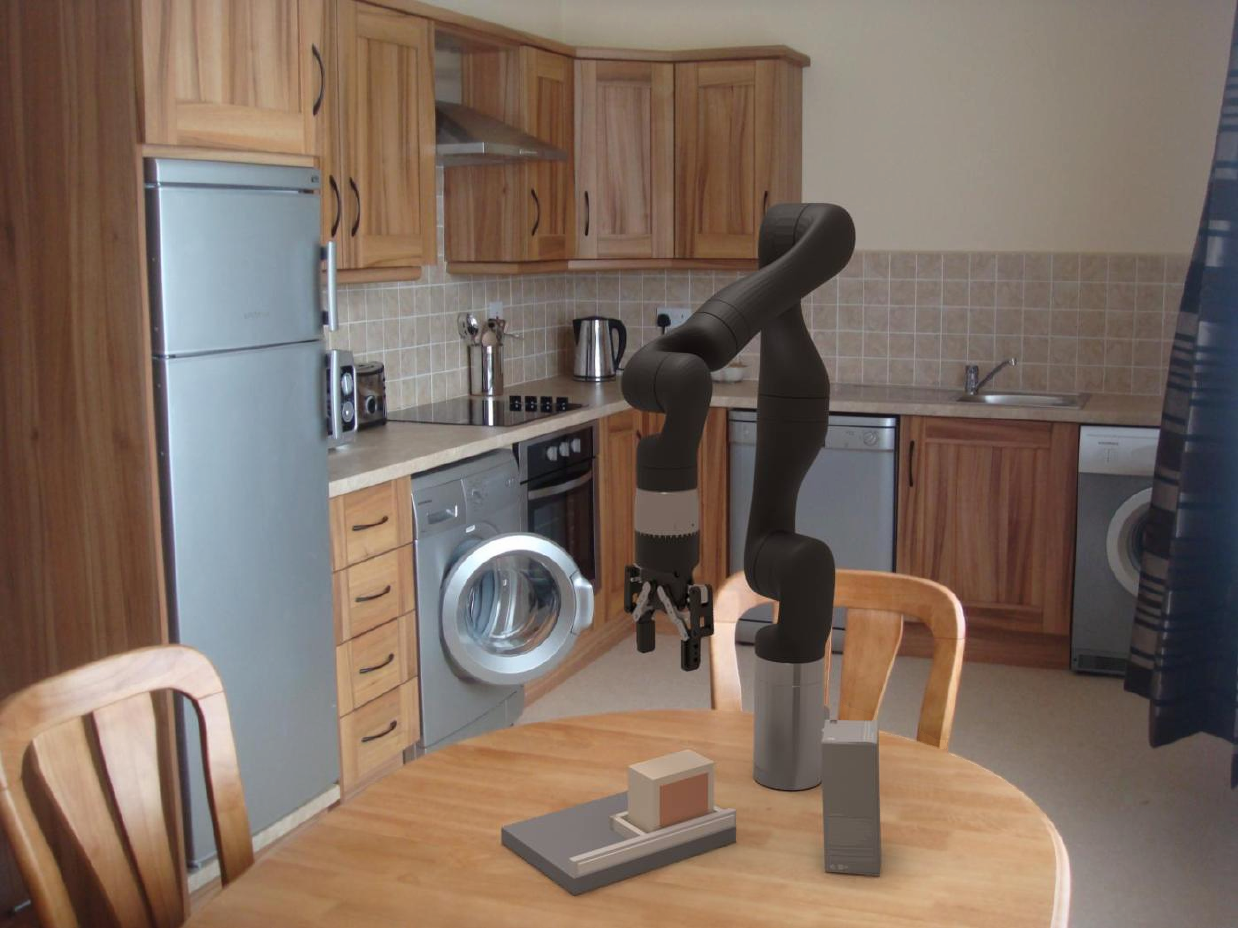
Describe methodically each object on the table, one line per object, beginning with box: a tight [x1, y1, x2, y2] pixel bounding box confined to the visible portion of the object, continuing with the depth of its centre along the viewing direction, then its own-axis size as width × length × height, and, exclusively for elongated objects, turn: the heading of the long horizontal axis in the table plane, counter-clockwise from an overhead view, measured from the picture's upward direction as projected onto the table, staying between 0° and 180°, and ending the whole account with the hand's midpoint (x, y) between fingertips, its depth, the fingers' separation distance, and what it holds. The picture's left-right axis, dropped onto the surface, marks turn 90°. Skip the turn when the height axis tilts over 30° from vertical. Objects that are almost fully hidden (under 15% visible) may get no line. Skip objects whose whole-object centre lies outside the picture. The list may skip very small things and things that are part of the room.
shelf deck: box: [500, 790, 737, 897], centre depth 162 cm, size 23×16×4 cm
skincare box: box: [821, 719, 882, 877], centre depth 157 cm, size 8×7×16 cm
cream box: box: [627, 748, 715, 834], centre depth 161 cm, size 9×5×8 cm, turn 125°
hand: (667, 660), depth 159 cm, fingers open, 8 cm apart
